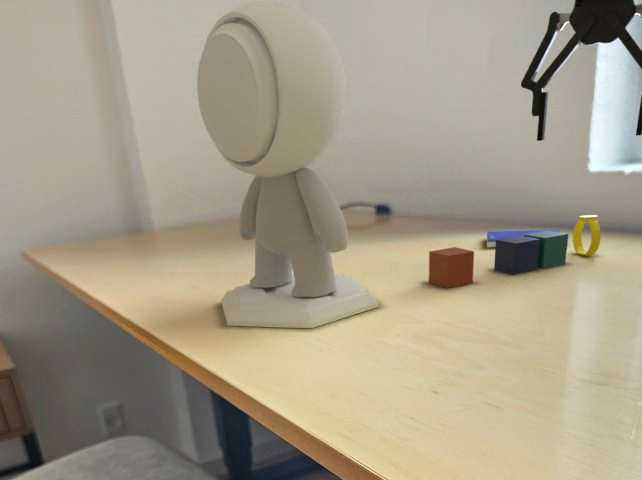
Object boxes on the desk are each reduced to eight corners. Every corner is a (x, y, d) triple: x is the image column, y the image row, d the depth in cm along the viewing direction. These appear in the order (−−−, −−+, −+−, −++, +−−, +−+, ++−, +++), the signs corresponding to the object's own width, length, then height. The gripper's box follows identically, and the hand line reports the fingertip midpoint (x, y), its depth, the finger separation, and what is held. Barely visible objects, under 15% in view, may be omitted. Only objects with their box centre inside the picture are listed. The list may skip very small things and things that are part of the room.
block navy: (516, 265, 102) (519, 235, 100) (537, 269, 99) (540, 239, 97) (493, 269, 101) (495, 239, 99) (513, 274, 97) (516, 243, 95)
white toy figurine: (187, 313, 91) (139, 14, 75) (312, 279, 104) (294, 17, 88) (274, 340, 77) (238, -20, 61) (407, 297, 90) (405, -11, 74)
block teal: (544, 259, 104) (546, 230, 102) (565, 264, 101) (568, 233, 98) (521, 264, 103) (524, 234, 101) (542, 268, 99) (545, 238, 97)
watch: (602, 257, 103) (607, 217, 100) (585, 259, 102) (590, 219, 100) (583, 250, 108) (587, 212, 105) (567, 252, 108) (571, 214, 105)
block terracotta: (453, 277, 98) (454, 246, 96) (472, 283, 94) (474, 251, 92) (428, 282, 97) (429, 251, 94) (447, 288, 93) (447, 256, 91)
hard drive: (487, 239, 115) (562, 236, 112) (487, 230, 122) (557, 228, 119) (487, 248, 116) (561, 246, 113) (486, 239, 123) (556, 237, 120)
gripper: (508, -26, 90) (498, 143, 100) (717, -58, 80) (684, 134, 90) (516, -19, 96) (506, 140, 106) (712, -48, 86) (681, 130, 96)
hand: (588, 137), depth 98 cm, fingers open, 13 cm apart
